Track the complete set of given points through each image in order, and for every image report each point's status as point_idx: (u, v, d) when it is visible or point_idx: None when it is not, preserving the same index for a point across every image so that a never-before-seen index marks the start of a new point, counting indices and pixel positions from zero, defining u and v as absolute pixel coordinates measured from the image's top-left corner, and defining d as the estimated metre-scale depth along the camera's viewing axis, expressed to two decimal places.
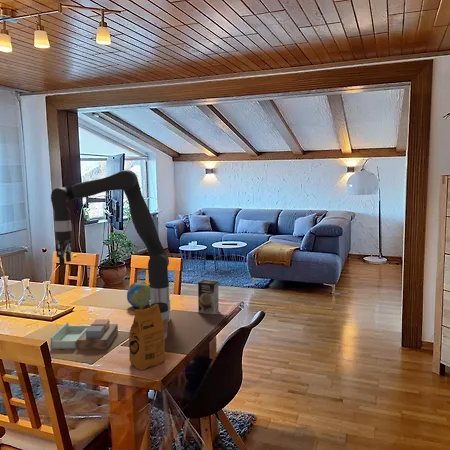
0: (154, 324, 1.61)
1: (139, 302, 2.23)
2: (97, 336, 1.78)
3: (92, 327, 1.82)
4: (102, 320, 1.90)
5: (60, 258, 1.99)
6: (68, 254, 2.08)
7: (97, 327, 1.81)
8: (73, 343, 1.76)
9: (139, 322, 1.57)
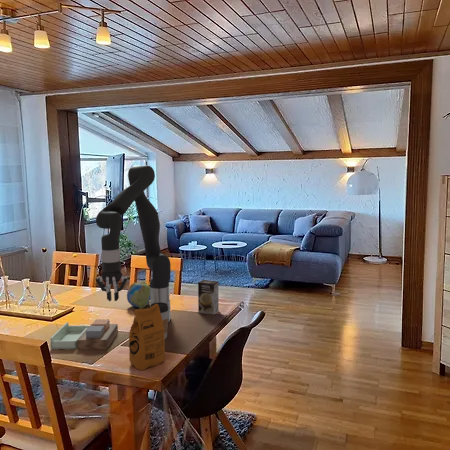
0: (154, 324, 1.61)
1: (139, 302, 2.23)
2: (97, 336, 1.78)
3: (92, 327, 1.82)
4: (102, 320, 1.90)
5: (118, 292, 1.78)
6: (110, 292, 1.78)
7: (97, 327, 1.81)
8: (73, 343, 1.76)
9: (139, 322, 1.57)
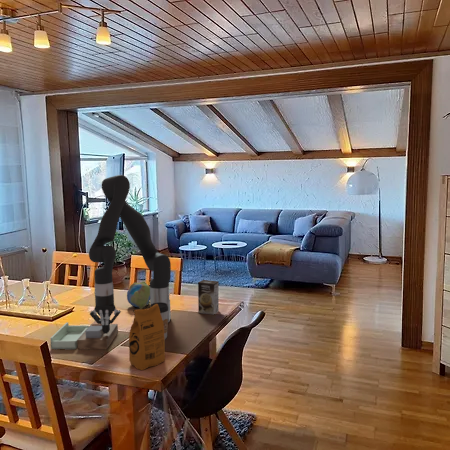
0: (154, 324, 1.61)
1: (139, 302, 2.23)
2: (96, 336, 1.78)
3: (92, 327, 1.82)
4: None
5: (109, 324, 1.80)
6: None
7: (97, 327, 1.81)
8: (73, 343, 1.76)
9: (139, 322, 1.57)
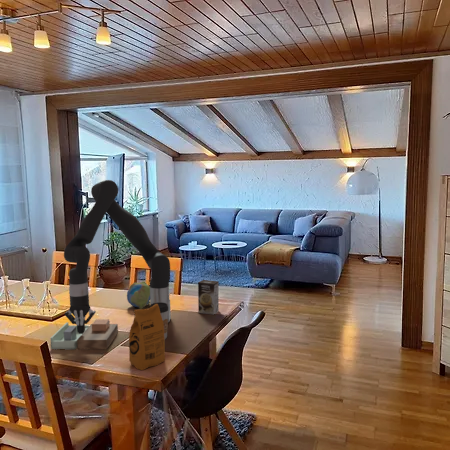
0: (154, 324, 1.61)
1: (139, 302, 2.23)
2: (69, 335, 1.77)
3: None
4: (102, 320, 1.90)
5: (84, 325, 1.80)
6: None
7: None
8: (73, 343, 1.76)
9: (139, 322, 1.57)
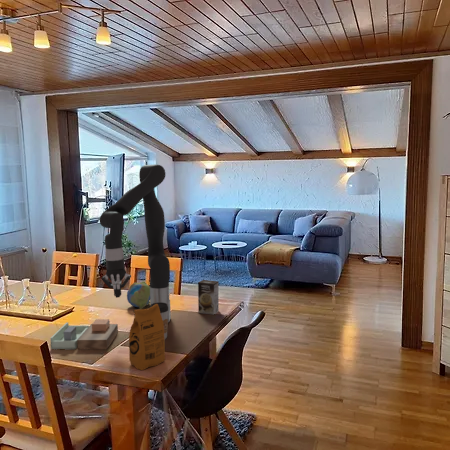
0: (154, 324, 1.61)
1: (139, 302, 2.23)
2: (69, 335, 1.77)
3: None
4: (102, 320, 1.90)
5: (120, 289, 1.86)
6: None
7: None
8: (73, 343, 1.76)
9: (139, 322, 1.57)
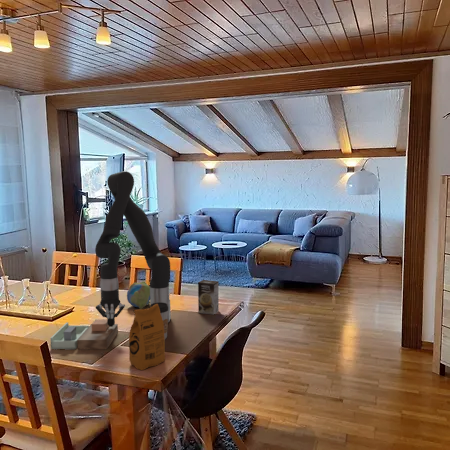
0: (154, 324, 1.61)
1: (139, 302, 2.23)
2: (69, 335, 1.77)
3: None
4: (101, 320, 1.90)
5: (114, 318, 1.88)
6: None
7: None
8: (73, 343, 1.76)
9: (139, 322, 1.57)
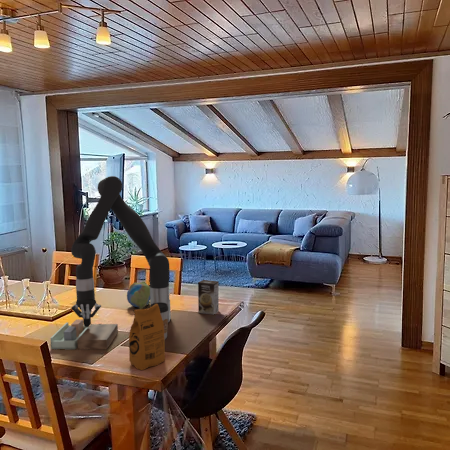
0: (154, 324, 1.61)
1: (139, 302, 2.23)
2: (69, 335, 1.77)
3: None
4: None
5: (90, 318, 1.88)
6: None
7: None
8: (73, 343, 1.76)
9: (139, 322, 1.57)
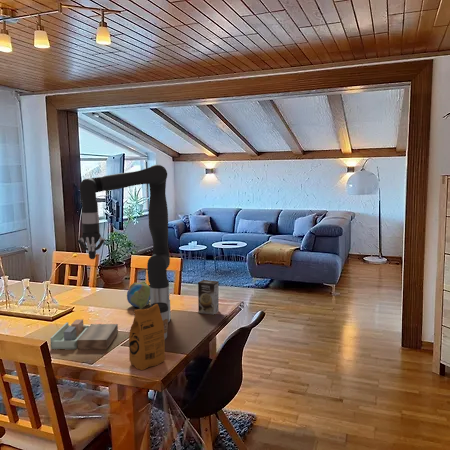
0: (154, 324, 1.61)
1: (139, 302, 2.23)
2: (69, 335, 1.77)
3: None
4: None
5: (95, 251, 1.99)
6: None
7: None
8: (73, 343, 1.76)
9: (139, 322, 1.57)
